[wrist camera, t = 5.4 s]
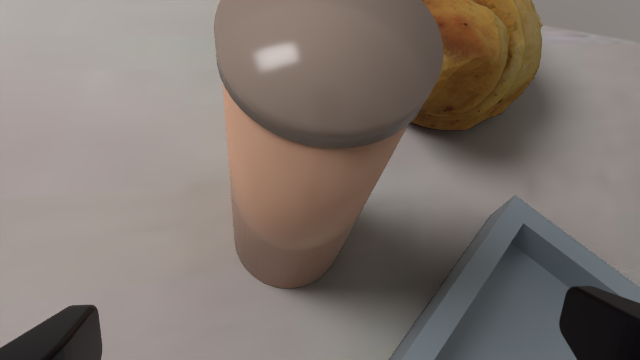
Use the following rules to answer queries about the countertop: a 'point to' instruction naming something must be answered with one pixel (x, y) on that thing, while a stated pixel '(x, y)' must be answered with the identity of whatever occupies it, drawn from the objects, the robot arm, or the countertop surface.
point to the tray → (509, 293)
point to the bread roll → (481, 60)
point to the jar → (315, 119)
